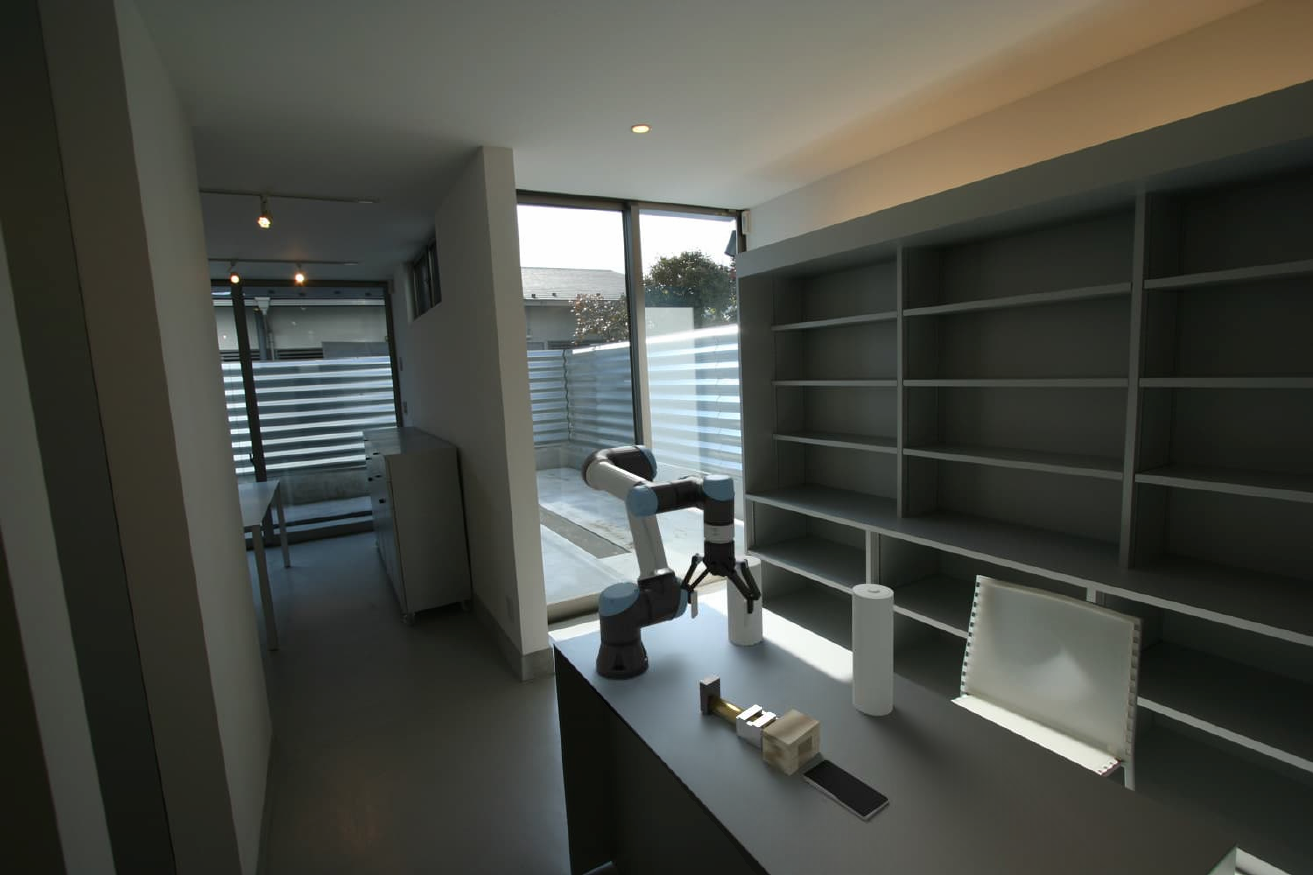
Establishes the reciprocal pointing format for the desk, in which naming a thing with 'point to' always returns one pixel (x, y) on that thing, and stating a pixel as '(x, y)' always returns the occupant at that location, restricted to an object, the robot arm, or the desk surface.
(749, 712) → the sleeve
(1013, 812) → the desk surface
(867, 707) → the cylinder container
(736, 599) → the tall pillar cylinder
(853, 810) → the smartphone
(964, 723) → the desk surface
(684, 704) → the desk surface
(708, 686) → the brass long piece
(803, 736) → the socket
